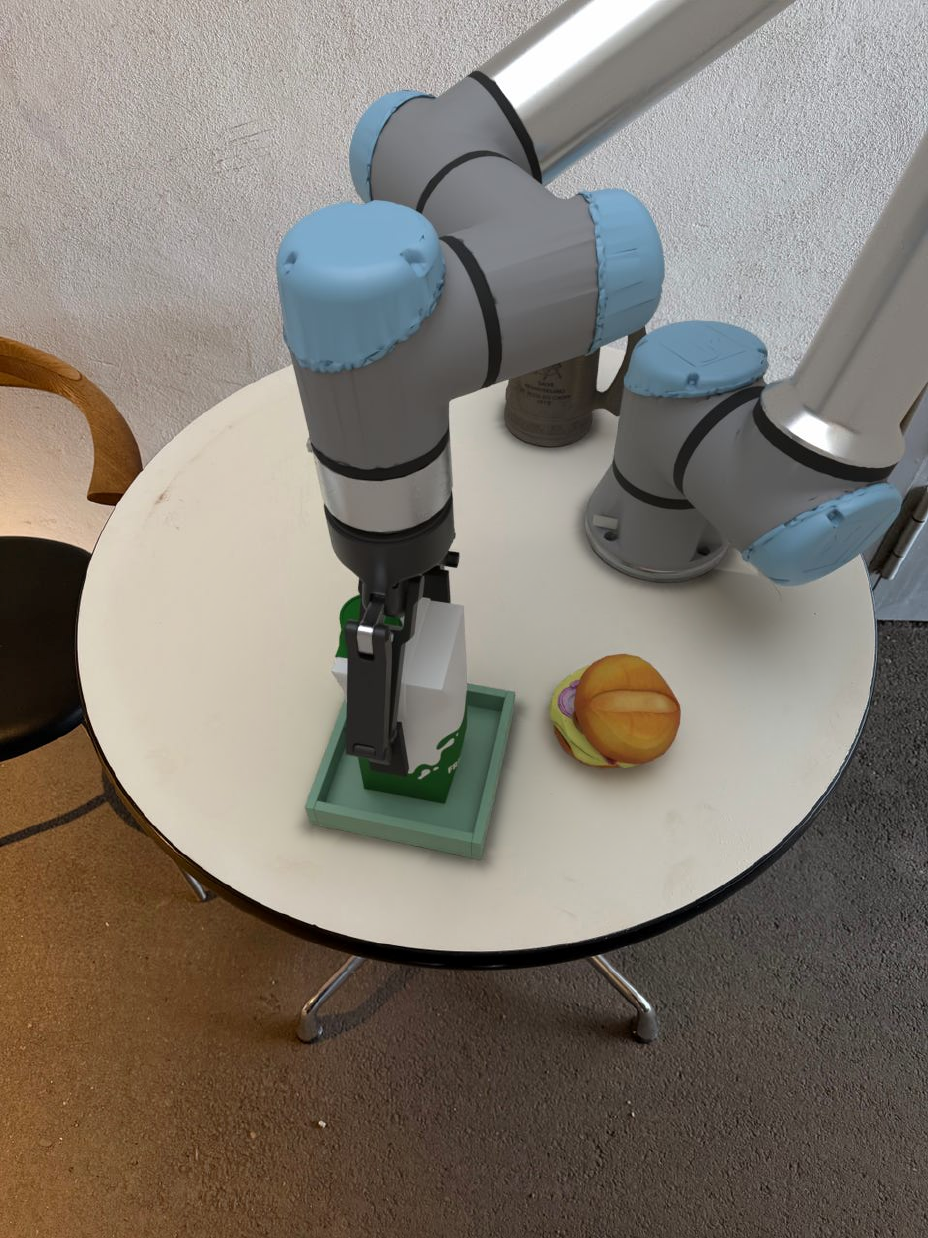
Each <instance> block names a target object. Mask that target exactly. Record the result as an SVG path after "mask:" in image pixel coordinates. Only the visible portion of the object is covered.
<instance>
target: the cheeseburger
mask: <svg viewBox="0 0 928 1238" xmlns="http://www.w3.org/2000/svg"><path fill="white" fill-rule="evenodd" d="M681 712H682V711H681V704H680V702H679V700H678V698H677V697H676V696H675V693H674V692H673V690H672V689H671V687H670V686H669V684H668V682H667V681H666V680H665V679H664V677H663V676H662V674H660V671H658V670H657V668H655V667H654V666H653V665H652V664H651V663H649V662H648V661H646V660H644V659H643V658H642V657H640V656H637V655H633V654H629V653H618V654H617V653H616V654H611V655H606V656H604V657H601V658H599V659H597V660H595V661H594V662H592V663H591V664H590V665H589V664H588V665H586V666H584V667H581V668H579V669H578V670H576V671H575V672H573V673H571V674H569V675H568V676H567V677H565V678H564V679H563V680H562V681H561V682H560V683H559V684H558V685H557V686H556V688H555V689H554V691H553V693H552V696H551V698H550V702H549V705H548V716H549V720H550V723H552V725H553V732H554V735H555V736H556V738H557V741H558V742H559V744H560V746H561V747H562V749H563V751H564V752H565V753H567V754H568V755H569V756H571V757H572V758H573V759H575V761H577V762H578V763H580V764H581V765H585V766H589V767H593V768H597V769H599V770H600V769H601V770H604V769H617V768H618V769H619V768H623V769H627V768H633V767H635V766H638V765H641V764H644V763H650V762H653V761H654V760H656V759H658V758H660V757H661V756H663V755H665V754H666V752H667V751H669V749H670V748H671V747H672V745H673V743H674V741H675V740H676V737H677V734H678V731H679V729H680V725H681V715H682V713H681Z"/></svg>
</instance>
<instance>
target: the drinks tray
mask: <svg viewBox="0 0 928 1238" xmlns="http://www.w3.org/2000/svg"><path fill="white" fill-rule="evenodd" d="M515 702H516V691H512V690H506V689H501V688H496V687H491V686H485V685H480V684H473V683H469V682H467V729H466V734H465V738H464V742H463V746H462V751H461V755H460V759H459V762H458V765H457V768H456V771H455V775H454V778H453V781H452V784H451V787H450V790H449V793H448V796H447V799H446V802H445V804H444V803H438V802H433V801H428V800H422V799H417V798H411V797H406V796H400V795H395V794H389V793H384V792H379V791H373V790H368V789H364V786H363V781H362V776H361V771H360V766H359V760H358V757H355V756H350V755H346V748H345V746H346V734H345V732H344V728H345V727H346V713H347V704H346V699H345V698H344V699H343V702H342V705H341V707H340V710H339V713H338V715H337V718H336V721H335V723H334V726H333V729H332V732H331V735H330V737H329V740H328V744H327V745H326V749H325V751H324V754H323V757H322V758H321V762H320V764H319V767H318V769H317V773H316V775H315V778H314V781H313V783H312V786H311V789H310V792H309V794H308V798H307V799H306V803H305V805H304V809H305V812H306V815H307V818H308V821H309V824H310V825H314V826H315V825H316V826H320V827H325V828H330V829H335V830H338V831H344V832H348V833H352V834H357V835H362V836H366V837H370V838H371V837H372V838H376V839H382V840H386V841H391V842H396V843H400V844H404V845H409V846H414V847H418V848H423V849H429V850H433V851H438V852H442V853H448V854H450V855H451V854H452V855H457V856H462V857H466V858H470V859H476V860H482V858H483V853H484V848H485V844H486V839H487V835H488V830H489V826H490V822H491V817H492V813H493V807H494V803H495V800H496V795H497V790H498V785H499V780H500V775H501V771H502V767H503V763H504V758H505V754H506V749H507V745H508V740H509V736H510V732H511V726H512V722H513V718H514V712H515V705H516V703H515Z"/></svg>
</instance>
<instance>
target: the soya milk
mask: <svg viewBox="0 0 928 1238" xmlns="http://www.w3.org/2000/svg"><path fill="white" fill-rule="evenodd" d="M360 602H361V596H360V594H359V593H358V594H357V595H355V596H353V597H351V598H349V599H348V600H347V601H346V602H345V603H344V604H343V605H342V607H341V609H340V612H339V618H338V619H339V625H340V632H339V636H338V637H339V638H338V647H337V650H336V653H335V656H334V658H335V661H334V663H333V665H332V669H331V673H332V675H333V677H334V678H335V680H336V681H337V684H339V686H340V688H341V689H342V691H343V694H344V699H346V704H347V649H346V643H345V633H344V628H345V625H346V623H347V621H348V620H349V619H351V620H357V621H359V613H360ZM383 624H388V625H394V626H400V627H403V625H404V617H402V618H394V617H388V616H385V619H384V623H383ZM465 628H466V626H465V605H463V604H456V603H451V604H450V603H444V602H437V601H431V600H430V599H429V598H424V597H422V598H421V599H420V600H419V602H418V607H417V616H416V625H415V633H414V636H413V637H412V638H411V639H410V640H409V641H408V642H406V645H405V654H404V663H403V672H402V681H401V690H400V699H399V708H398V717H397V721H398V722H402V726H403V733H404V739H405V745H406V751H407V758H408V764H409V771H408V774H407V777H401V776H396V775H391V774H386V773H381V772H376V771H371V770H370V766H369V762H368V759H365V758H360V757H358V760H359V766H360V771H361V776H362V781H363V786H364V789H368V790H373V791H379V792H384V793H389V794H395V795H400V796H406V797H411V798H417V799H422V800H428V801H433V802H438V803H444V804H445V802H446V799H447V796H448V793H449V790H450V787H451V784H452V781H453V778H454V775H455V771H456V768H457V765H458V762H459V759H460V755H461V751H462V746H463V742H464V738H465V734H466V729H467V683H468V663H467V647H466V629H465Z"/></svg>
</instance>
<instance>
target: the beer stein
mask: <svg viewBox="0 0 928 1238" xmlns="http://www.w3.org/2000/svg"><path fill="white" fill-rule="evenodd" d="M646 329H647V328H646V325H645V326H644V327H643V328H641V329H640V330H638V331H636V332H634V333H632V334H630V335H627V344H626V350H625V353H624V356H623V360H622V362H621V364H620V367H619V368H618V370H617V373H616V374H615V377H614V378H613V380H612V382H611V383H610V385H609V386H608V387H607V388H606V390H603V391H599V390H598V375H599V366H600V356H601V349H602V347H600V348H598V349H597V350H595V352H594V353H593V354H592V353H591V354H589V355H586V356H585V355H584V354H583V355H580V356H577V357H574V358H571V359H568V360H566V361H563V362H560V363H557V364H554V365H551V366H548V367H545V368H542V369H539V370H536V371H533V372H530V373H527V374H524V375H521V376H518V377H515V378H512V379H509V380H507V382H508V383H507V386H506V388H505V393H504V394H505V396H504V398H505V405H504V410H503V420H504V422H505V425H506V427H507V429H508V430H509V431H510V433H511V434H513V435H514V436H515V437H516V438H519V439H520V440H522V441H523V442H526V443H530V444H533V445H536V446H543V447H560V446H564V445H570V444H573V443H575V442H577V441H578V440H580V439H581V438H582V437H584V436H585V435H586V434H587V433H588V431H589V429H590V428H591V426H592V422H593V415H594V414H593V412H594V411H595V410H605V411H607V412H609V413H610V414H612V415H613V416H615V417H618V418H619V416H620V409H621V402H622V395H623V389H624V377H625V375H626V373H627V372H628V368H629V364H630V360H631V355H632V352H633V350H634V348H635V346H636V345H637V343H638V342H639V341H640V340H641V339H642V338H643V337H644V336H645V335H647V330H646Z"/></svg>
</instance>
